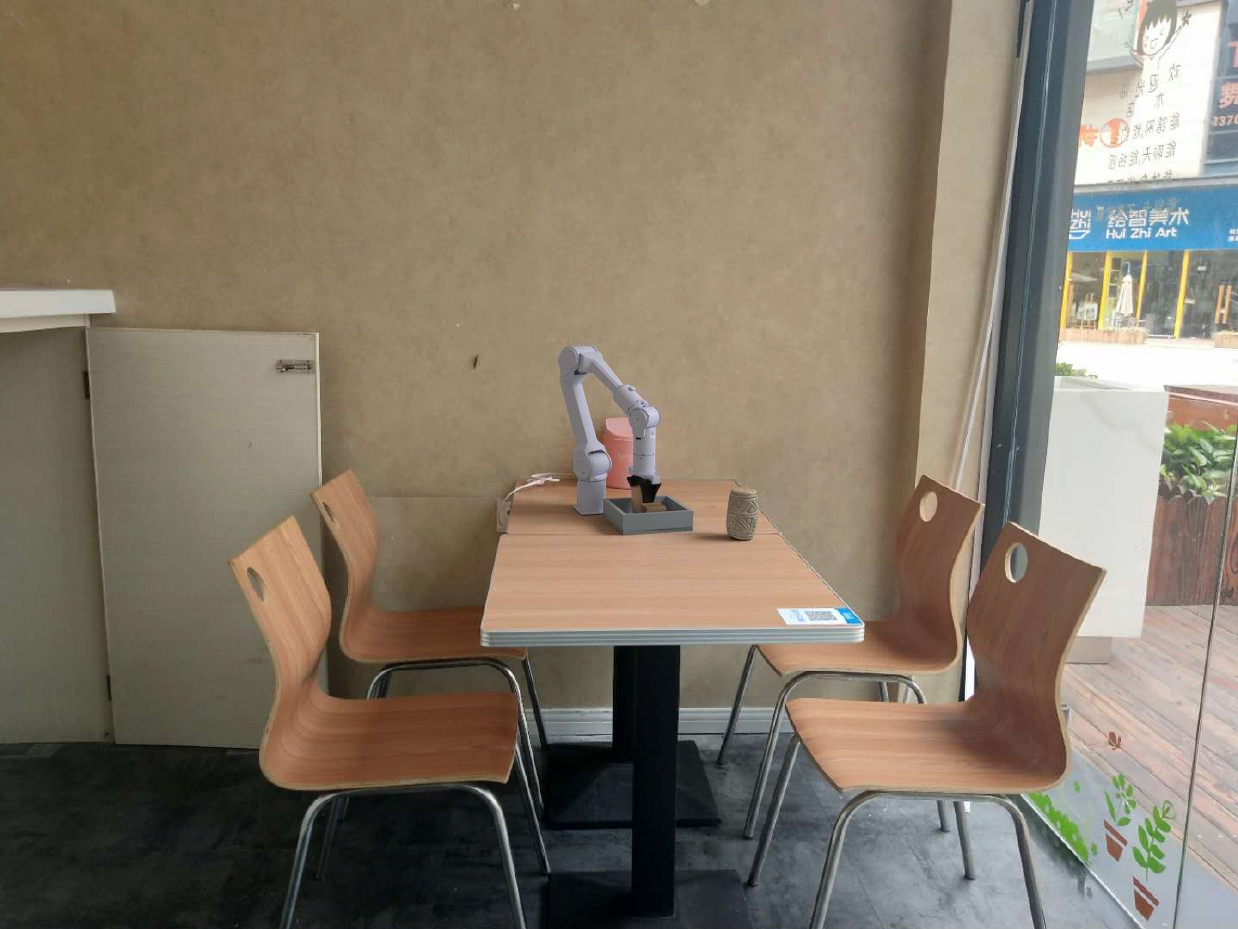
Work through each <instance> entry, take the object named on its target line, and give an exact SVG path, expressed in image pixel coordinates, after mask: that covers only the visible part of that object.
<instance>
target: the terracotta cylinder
mask: <svg viewBox="0 0 1238 929" xmlns="http://www.w3.org/2000/svg"><path fill="white" fill-rule="evenodd" d="M630 497H631V498H632V513H633V514H634V513H640V509H641V504H643V497H642V492H641V488H640V486H639V485H635V486H632V487H630Z"/></svg>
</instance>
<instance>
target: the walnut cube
mask: <svg viewBox="0 0 1238 929" xmlns="http://www.w3.org/2000/svg"><path fill="white" fill-rule="evenodd" d="M651 512H666V506H664V505H663V504H661V503H643V504H641V509H640V513H651Z"/></svg>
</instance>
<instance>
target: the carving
mask: <svg viewBox="0 0 1238 929" xmlns="http://www.w3.org/2000/svg"><path fill="white" fill-rule="evenodd" d="M758 496H759V495H758V491H757V490H756V489H753V488H750V487H745V486H744V487H743V486H742V487H739V486H738V487H737V486H736V487H734V488H731V491H730V492H729V497H728V502H727V511H726V518H725V528H726V533H727V535H729V536H730V537H732V538H734V539H737V540H741V541H742V540H743V541H749V540H752V539H753V538H754V536H755V532H756V528H757V525H758V517H759V504H758V502H759V501H758V500H759V497H758Z"/></svg>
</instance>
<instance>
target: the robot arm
mask: <svg viewBox="0 0 1238 929" xmlns="http://www.w3.org/2000/svg"><path fill="white" fill-rule="evenodd" d="M557 363H558V367H559V385H560V388H561V390H562V395H563V398H564V402H565V407H566V410H567V412H568V416H569V420H570V425H571V428H572V431H573V436H574V440H575V443H576V447H575V449H574V450H573V452H572V453H571V454H572V455H571V456H572V460H573V463H572V470H573V473H574V474H575V475H576V477H577V484H576V504H574V505H572V507H573V508H574V509H575V510H576V511H577V512H578V513H579V514H580V515H581V516H585V515H586V516H587V515H603V499H606V498H607V477H608V473H610V471H611V470H612V467H613V462H612V458H611V457H610V455H609V453H607V450H606V446H605V445H604V444H603V443H601V442H600V441H599V440H598V439H597V436H596V431H595V428H594V423H593V421H592V416H591V413H590V409H589V405H588V402H587V398H586V394H585V391H584V387H583V381H584V380H585V378H586V377H587V376H588V375H589V374H592V375H594V377H596V378H597V379H598V380H599V381H600V382H601V383H602V384H603V386H605V387H606V388H607V389H608V390H609V391H610V392H611V393H612V400H613V401H614V402H615V404H616V405H617V406H618V407H619V408H620V409H621V411H622V412H623V413H624V414H625V415H626V416H627V418H628V423H629V426H630V428H631V430H632V432H631V434H632V437H633V438H632V465H628V468H627V469H628V472H627V474H628V475H630V476H626V480H627V482H628V485H629V487H630V488H631V487H632V486H635V485H639V486H640V488H641V492H642V497H643V503H654V500H655V497H656V496H657V494H658V492H659V490H660V488H661V487H662V481H661V475H659V474H658V472H657V471H656V449H657V448H656V446H657V443H656V442H657V427H658V426H659V424H660V422H661V419H662V418H661V417H662V416H661V413H660V411H659V409H658V407H657V406H656V405H652V404H649V403H648V401H647V400H646V399H645V400H644V398H643V397H642V396H641V395H640V394H639V393H637V391H636V390H637V389H636V387H635V386H634V385H632V386H631V385H630V384H624V383H623V382H622V381H621V380H620V378H619V377H618V376H617V374H616V373H615V372H614V371H613V370H612V369H611V367H610V365H608V363H607V362H606V361H605V360H604V357H603V354H602V353H601V352H600V351H599V350H598V349H597V347H596V346H594V345H593V344H586V345H575V346H574V345H573V346H572V345H567V346H565V347H563V348H562V349H561V351H560V353H559V355H558V356H557Z"/></svg>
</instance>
